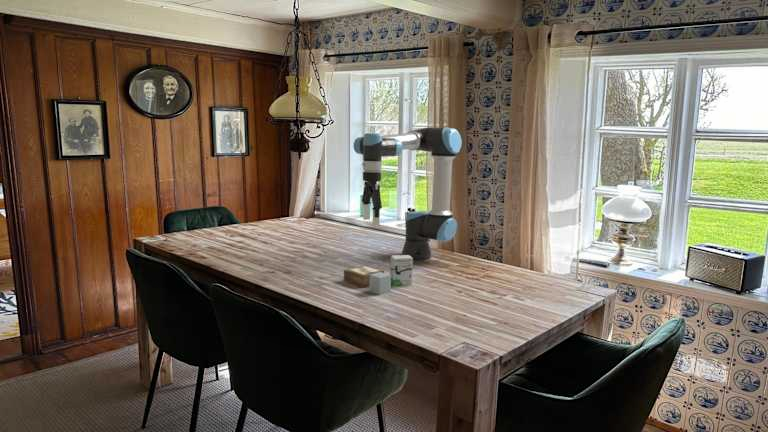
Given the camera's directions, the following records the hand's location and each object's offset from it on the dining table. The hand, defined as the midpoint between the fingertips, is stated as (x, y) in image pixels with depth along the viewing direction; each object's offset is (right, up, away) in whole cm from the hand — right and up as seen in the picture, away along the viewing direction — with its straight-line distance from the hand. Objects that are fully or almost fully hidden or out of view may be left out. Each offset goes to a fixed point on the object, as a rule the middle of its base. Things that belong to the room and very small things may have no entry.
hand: (371, 222), depth 222 cm
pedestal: (-3, -25, +3) cm, 26 cm away
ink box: (+12, -26, +1) cm, 29 cm away
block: (+4, -28, -10) cm, 29 cm away
